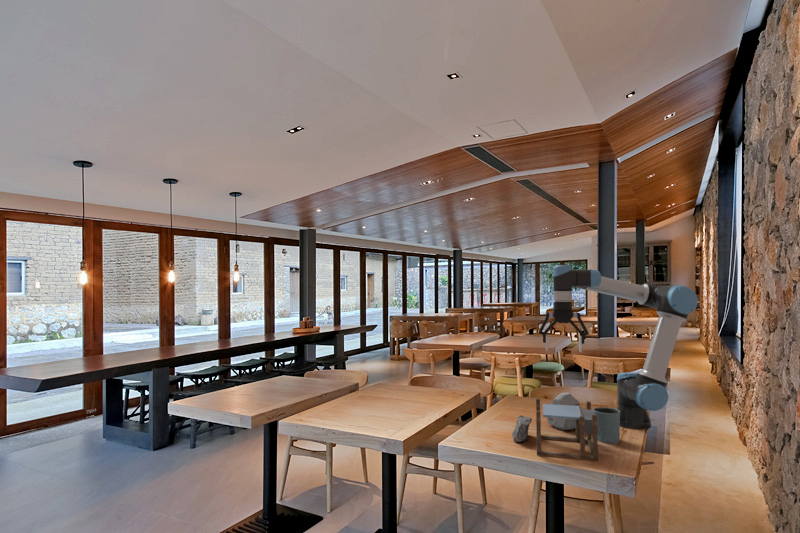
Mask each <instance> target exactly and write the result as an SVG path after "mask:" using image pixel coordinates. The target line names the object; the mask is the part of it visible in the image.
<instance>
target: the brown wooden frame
mask: <svg viewBox="0 0 800 533" xmlns="http://www.w3.org/2000/svg"><path fill="white" fill-rule="evenodd" d="M535 400H536V401H535V405H536V406H535V407H536V408H535V416H536V418H535V420H536V421H535V422H536V455H537V456H542V455H544V457H553V458H554V457H555V458H567V459H578V460H587V461H598V460H599V459H598V458H599V456H598V454H599V452H598V451H599V450H598V449H599V447H598V444H599V443H598V440H597V415H596V414H592V434H589V433H585V423H584V416H580V420H579V419H576V428H575V437H573V436H571V437H570V436H563V435H562V436H559V435H549V434H548V435H547V434H542V429H541V428H542V424H541V398H538V397H537V398H536V399H535ZM577 405H578V406H579V407H580V406H581V404H580V402H579V403H575V406H577ZM591 406H592V403H591V401H590V400H589V401H588V400H587V401H586V409H587V410H592V407H591ZM542 440H549V441H561V442H562V441H563V442H575V443H579V445H580V446H579V447H580V449H579V451H580V452H579V453H572V452H571V453H569V452H560V451H557V452H556V451H546V450H542ZM586 443H587V446H588V448H589V451H590V454H586Z"/></svg>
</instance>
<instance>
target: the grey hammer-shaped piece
mask: <svg viewBox="0 0 800 533" xmlns="http://www.w3.org/2000/svg"><path fill="white" fill-rule="evenodd" d="M592 414H594V411H593V409H591V410H587V408H586V409H585V408H584V409H583V408H582V409H580V407H579V406H578V405H577V406H569V405H553V404H551V403H542V415H543V416H542V417H543V418H547V417H550V418H565V419H579V420H580V416H584V423H585V434H587V433H589V434H591V435H592ZM597 434H598V420H597Z"/></svg>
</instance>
